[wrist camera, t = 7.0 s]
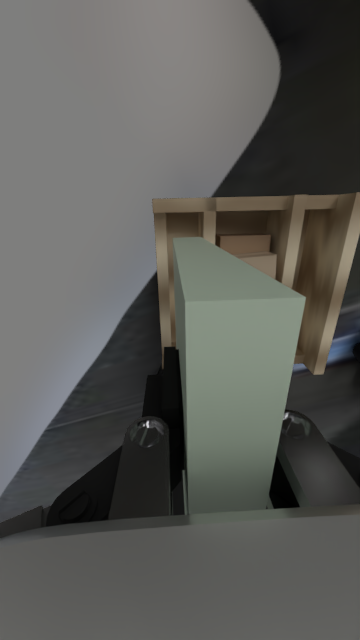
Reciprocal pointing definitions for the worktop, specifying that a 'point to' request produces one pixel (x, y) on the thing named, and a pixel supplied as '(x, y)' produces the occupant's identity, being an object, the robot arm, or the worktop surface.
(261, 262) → the offcut top
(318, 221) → the rack
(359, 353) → the toy
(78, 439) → the worktop surface
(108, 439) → the worktop surface
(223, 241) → the offcut low
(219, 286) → the board
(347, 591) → the robot arm
